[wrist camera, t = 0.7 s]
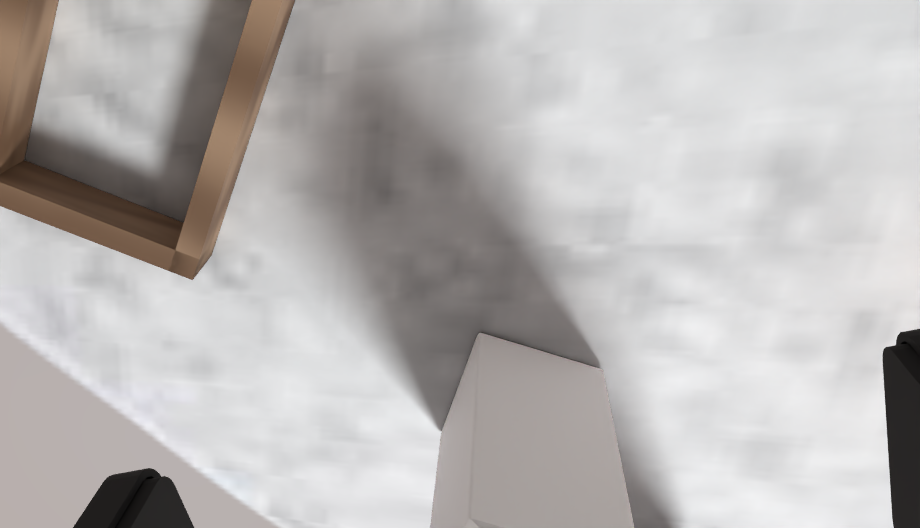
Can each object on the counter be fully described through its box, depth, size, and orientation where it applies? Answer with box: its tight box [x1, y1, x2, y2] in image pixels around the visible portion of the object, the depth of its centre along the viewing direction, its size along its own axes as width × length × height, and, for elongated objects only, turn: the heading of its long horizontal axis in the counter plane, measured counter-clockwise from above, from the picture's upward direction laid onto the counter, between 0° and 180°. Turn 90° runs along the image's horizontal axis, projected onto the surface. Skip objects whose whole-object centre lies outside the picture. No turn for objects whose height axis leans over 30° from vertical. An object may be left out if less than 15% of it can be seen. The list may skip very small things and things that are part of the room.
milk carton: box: [430, 333, 634, 528], centre depth 40 cm, size 7×7×19 cm
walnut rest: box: [0, 0, 295, 280], centre depth 39 cm, size 22×11×3 cm, turn 157°
